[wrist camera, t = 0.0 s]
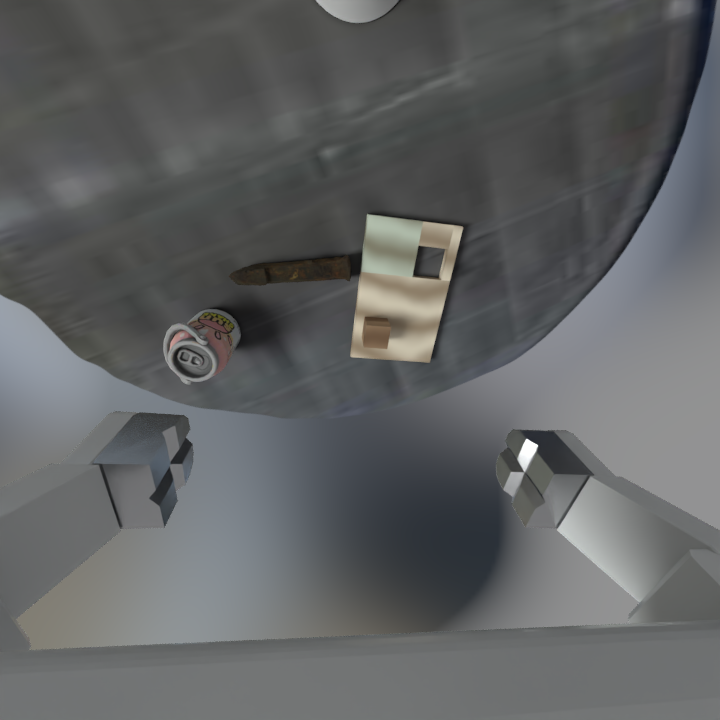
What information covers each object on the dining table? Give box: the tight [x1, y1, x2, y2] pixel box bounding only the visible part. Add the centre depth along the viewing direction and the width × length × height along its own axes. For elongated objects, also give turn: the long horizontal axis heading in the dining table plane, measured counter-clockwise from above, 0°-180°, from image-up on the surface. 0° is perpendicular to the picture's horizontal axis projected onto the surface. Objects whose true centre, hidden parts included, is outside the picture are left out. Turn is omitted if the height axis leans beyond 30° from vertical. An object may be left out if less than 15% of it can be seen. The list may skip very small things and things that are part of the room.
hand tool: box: [229, 255, 351, 285], centre depth 51 cm, size 19×4×5 cm, turn 90°
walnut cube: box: [362, 317, 391, 349], centre depth 56 cm, size 4×4×4 cm
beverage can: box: [163, 309, 241, 385], centre depth 51 cm, size 9×8×12 cm
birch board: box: [350, 214, 463, 362], centre depth 56 cm, size 24×15×2 cm, turn 173°
